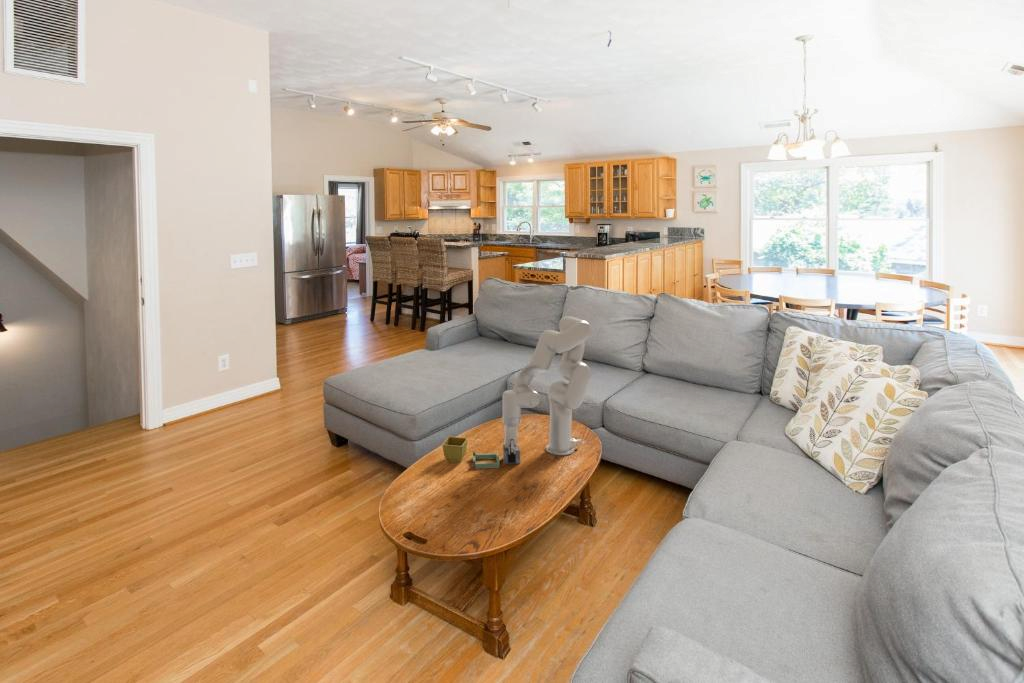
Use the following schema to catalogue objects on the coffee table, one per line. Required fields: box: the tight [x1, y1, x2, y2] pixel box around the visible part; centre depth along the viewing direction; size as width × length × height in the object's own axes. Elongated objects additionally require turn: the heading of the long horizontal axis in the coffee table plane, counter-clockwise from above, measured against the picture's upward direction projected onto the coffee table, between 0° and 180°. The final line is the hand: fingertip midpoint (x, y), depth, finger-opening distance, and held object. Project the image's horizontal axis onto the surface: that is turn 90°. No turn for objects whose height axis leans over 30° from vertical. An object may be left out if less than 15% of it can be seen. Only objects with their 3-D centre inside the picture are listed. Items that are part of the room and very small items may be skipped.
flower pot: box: [442, 436, 468, 464], centre depth 242 cm, size 9×9×9 cm
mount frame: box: [472, 451, 501, 470], centre depth 241 cm, size 11×10×3 cm
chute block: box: [502, 443, 521, 465], centre depth 242 cm, size 7×5×7 cm
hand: (511, 457), depth 242 cm, fingers open, 9 cm apart
